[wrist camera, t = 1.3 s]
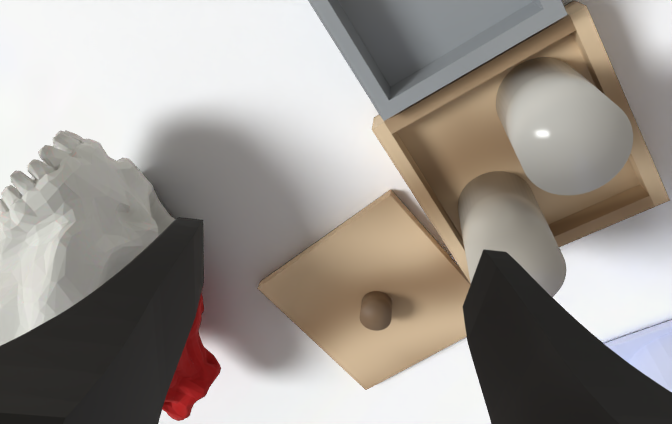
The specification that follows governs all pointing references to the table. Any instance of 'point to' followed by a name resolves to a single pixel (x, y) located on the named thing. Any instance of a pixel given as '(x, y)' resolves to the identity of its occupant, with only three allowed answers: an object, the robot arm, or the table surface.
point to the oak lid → (374, 292)
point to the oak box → (495, 147)
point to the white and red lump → (84, 246)
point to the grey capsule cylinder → (509, 227)
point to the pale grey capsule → (562, 127)
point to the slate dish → (426, 40)
